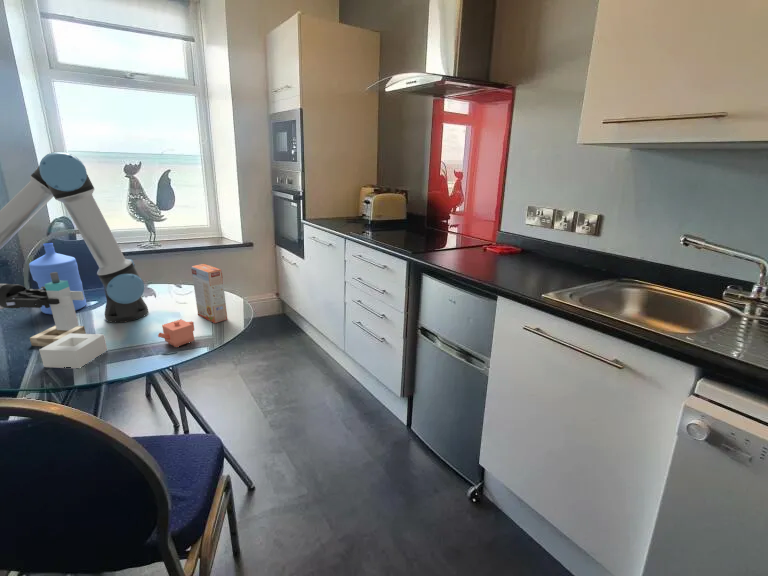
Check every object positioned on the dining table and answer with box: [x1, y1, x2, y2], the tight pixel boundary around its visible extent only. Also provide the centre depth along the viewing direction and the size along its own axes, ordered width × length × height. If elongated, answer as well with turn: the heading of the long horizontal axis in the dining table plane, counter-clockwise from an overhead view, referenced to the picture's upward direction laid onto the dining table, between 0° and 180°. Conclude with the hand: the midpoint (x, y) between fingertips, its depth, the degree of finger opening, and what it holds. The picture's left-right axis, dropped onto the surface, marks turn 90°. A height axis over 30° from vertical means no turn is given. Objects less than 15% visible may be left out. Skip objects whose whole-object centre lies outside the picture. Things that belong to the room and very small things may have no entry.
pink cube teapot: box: [157, 318, 196, 348], centre depth 145 cm, size 8×12×8 cm, turn 141°
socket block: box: [38, 333, 108, 369], centre depth 135 cm, size 12×12×6 cm
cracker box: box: [190, 263, 228, 324], centre depth 166 cm, size 14×6×21 cm, turn 48°
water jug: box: [28, 242, 87, 315], centre depth 174 cm, size 16×16×28 cm
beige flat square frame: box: [29, 324, 87, 347], centre depth 149 cm, size 11×11×3 cm
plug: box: [45, 272, 80, 331], centre depth 129 cm, size 4×4×18 cm
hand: (76, 298), depth 129 cm, fingers closed on plug, 4 cm apart
